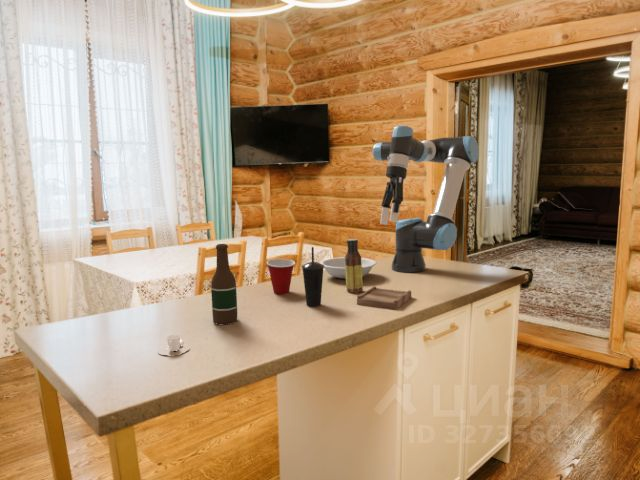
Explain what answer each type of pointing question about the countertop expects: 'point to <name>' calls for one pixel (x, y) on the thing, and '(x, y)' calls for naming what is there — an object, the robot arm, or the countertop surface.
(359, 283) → the sauce bottle
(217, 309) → the beer bottle
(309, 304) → the drinking cup
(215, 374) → the countertop surface
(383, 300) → the board
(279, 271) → the plastic cup
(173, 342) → the teacup and saucer
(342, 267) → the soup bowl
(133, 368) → the countertop surface
